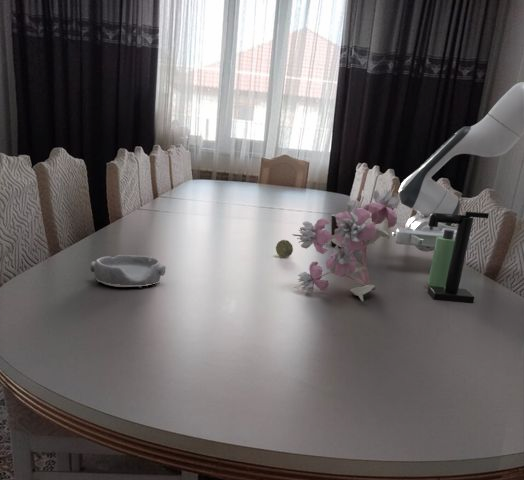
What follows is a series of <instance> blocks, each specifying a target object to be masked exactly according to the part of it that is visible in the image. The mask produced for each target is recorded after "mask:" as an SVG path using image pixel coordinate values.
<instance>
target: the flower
mask: <svg viewBox="0 0 524 480" xmlns="http://www.w3.org/2000/svg"><path fill="white" fill-rule="evenodd" d="M395 189H396V185H395V184H394V185H392V190H391V189H389V190H388V188H386V190H385V189H384V190H383V191H382V194H380V191H379V188H376V189H375V190H374V191H373V196H372V199H373V200H374V202H371V203H365V204H363V205H362V203H363V201H364V198H365V197H364V196H362V198H361V201H360V202H358V201H357V200H356V199H355V200H354V199H352V200H351V199H349V200H348V201H347V203H346V206H345V208H346V209H345V210H344V212H338V213H336V214H337V215H336V223H337V226H338V228H337V229H335V234H334V235H331V232H329V231H328V230H327V229H325V228H326V225H328V224H331V223H330V222H331V221H330V220H329V219H328V218H326V217H321V218H319V219H318V220H317V221H316V223H314V225H313V223H312V222H310V221H308V220H307V221H303V222H302V224H301V225H303V226H299V229H298V231H299V233H300V234H296V233H295V234H293V233H292V234H291V235H292V236H293V237H297V238H296V239H297V240H299V241H298V244H300V243H301V244H300V247H301V248H302V249H306V250H307V249H308V248H310V247H311V246H312V245H313V247H314V248H315V250H316V252H317V253H319V254H322V255H324V254H326V252H328V251H329V249H327V248H324V245H325V244H327V243H329V242H331V240H332V242H333V243H335V244H336V246H335V247H333V252H332V253H331V254H330V256H329V257H330V258H328V259H326V262H325V266H326V269H327V270H329V272H326V273H323V272H324V269H323V268H322V266H321V265H319V262H318V261H311V263H310V264H309V268H308V270H309V273H308V272H307V271H303V272H300V273H299V274H298V275H297V276H298V277H299V278H297V280H298V283H300V284H298V286H293V288H294V289H296V288H298V287H302V288H301V291H302V290H303V291H305V294H312V293H314V287H315V286H316V287H317V289H319V290H320V291H326V290H328V289H329V285H330V283H329V280H325V279H322V278H323V277H324V276H326V275H328V274H334V275H335V276H338V277H340V278H343V277H345V278H348V279H351V280H352V281H354V282H356V283H358V284H359V285H362V286H356V287H353V288H351V289H350V290H349V291H350V292H351V294H353V295H354V296H358V298H359V299H360V301H361V302H364V295H365V294H367V293H369V292H373V291H375V290H376V286H375V285H374V284H371V280H370V276H369V272H368V259H367V247H368V246H369V245H372V244H373V245H376V243H375V242H377V241H378V240H379V239H380V238H381V237H383V238H384V237H387V239H388V240H390V237H391V236H390V233H388V232H387V231H386V230H385V229H383V228H380V227H376V225H380V224H382V223H383V222H384V221H385V220H387V229H390V228H394V227H395V226H396V224H397V223H398V222H397V220H398V215H397V213H396V212H395V210H393V209H397V208H398V206H399V204H400V202H401V201H400V197H399V194H397V192H395V193H394V195H393V192H394V190H395ZM369 219H371V222H367V221H368V220H369ZM364 222H365V223H364ZM331 238H332V239H331ZM337 245H338V246H339V247H341V248H338V246H337ZM342 247H344V248H342ZM354 252H357V253H358V252H362V259H361V260H362V263H360V262H358V261H357V259H356V257H355V255H354ZM354 273H358V274H359V275H360V276H361V278H362V280H361V279H360V278H358V277H357V276H354V275H352V274H354Z"/></svg>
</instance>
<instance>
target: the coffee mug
mask: <svg viewBox="0 0 524 480" xmlns="http://www.w3.org/2000/svg"><path fill="white" fill-rule="evenodd" d="M337 214H338V213H334V214H331V219H330V220H331V221H330V222H331V223H330V224H331V226H330V228H331V229H330V234H331V235H334V234H335V229H337V228H338V226H337V223H336V215H337ZM364 223H366V221H365V222H364ZM331 239H332V238H331ZM330 246H331V247H333V248H334V247H335V246H336V244H335V243H333V242H332V240H330ZM337 246H338V245H337ZM338 248H339V249H342V248H344V247H342V248H341V247H339V246H338Z"/></svg>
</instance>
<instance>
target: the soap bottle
mask: <svg viewBox="0 0 524 480" xmlns="http://www.w3.org/2000/svg"><path fill="white" fill-rule="evenodd" d="M453 235H454V231H453V230H444V234H443V237H437V239H436V244H435V249H434V251H433V255H432V261H431V266H430V271H429V276H428V281H427V285H428V286H437V287H445V285H446V280H447V275H448V270H449V265H450V260H451V256H452V251H453V246H454V241H455V238H453Z"/></svg>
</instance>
